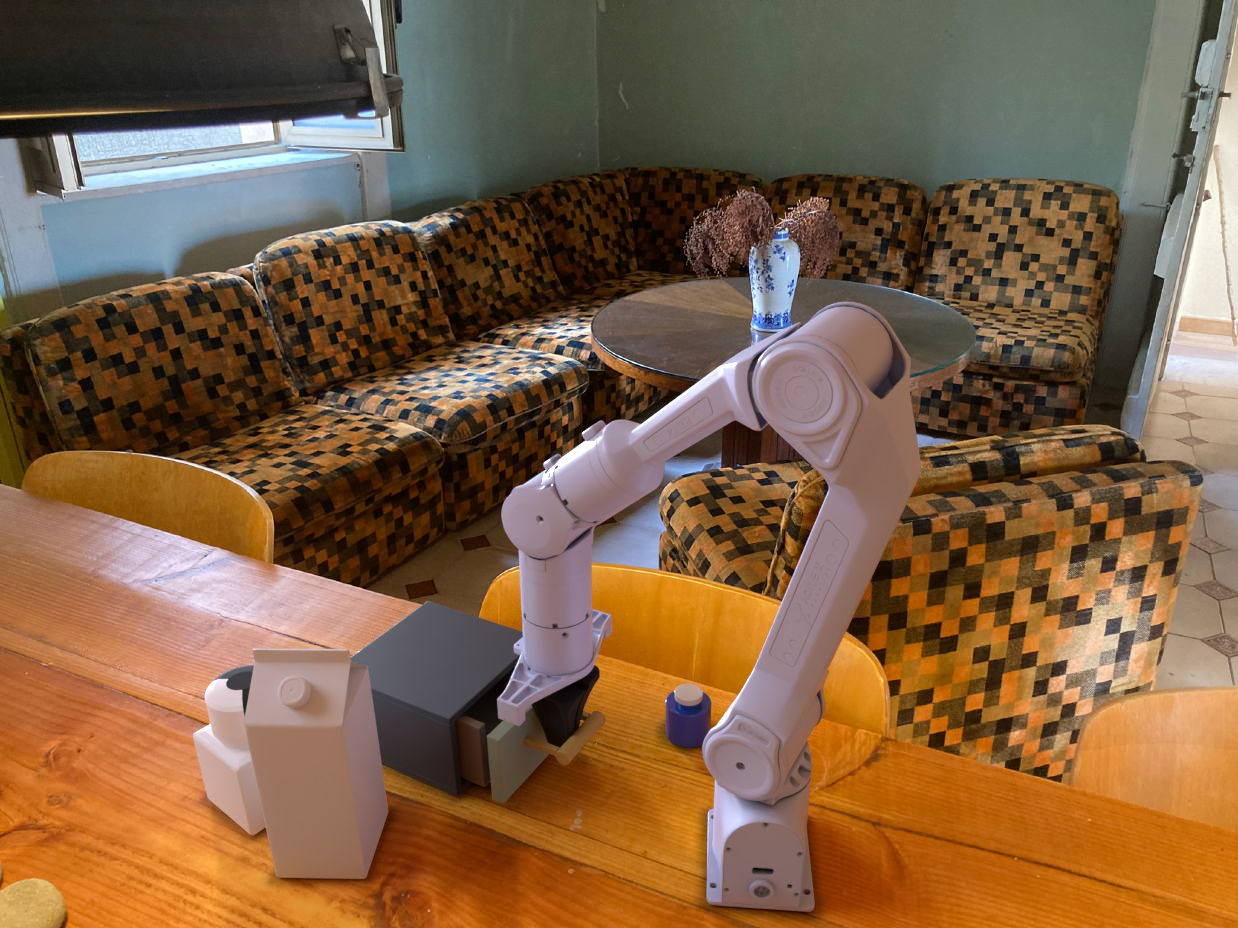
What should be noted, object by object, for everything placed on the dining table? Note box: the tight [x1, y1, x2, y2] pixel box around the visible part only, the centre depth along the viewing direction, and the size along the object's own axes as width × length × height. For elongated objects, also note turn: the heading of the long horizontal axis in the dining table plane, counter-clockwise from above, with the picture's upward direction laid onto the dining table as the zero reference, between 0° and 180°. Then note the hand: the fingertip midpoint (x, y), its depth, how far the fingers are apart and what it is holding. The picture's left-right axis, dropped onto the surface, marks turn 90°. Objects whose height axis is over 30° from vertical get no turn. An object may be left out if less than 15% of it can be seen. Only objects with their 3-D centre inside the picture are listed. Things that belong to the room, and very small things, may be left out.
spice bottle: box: [664, 682, 712, 749], centre depth 89 cm, size 4×4×5 cm
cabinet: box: [350, 600, 523, 798], centre depth 89 cm, size 13×13×8 cm
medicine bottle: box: [192, 664, 266, 836], centre depth 81 cm, size 7×7×12 cm
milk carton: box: [244, 647, 389, 880], centre depth 74 cm, size 7×7×19 cm
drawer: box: [455, 666, 606, 805], centre depth 86 cm, size 17×12×7 cm
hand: (561, 741), depth 84 cm, fingers closed, pressing on drawer
